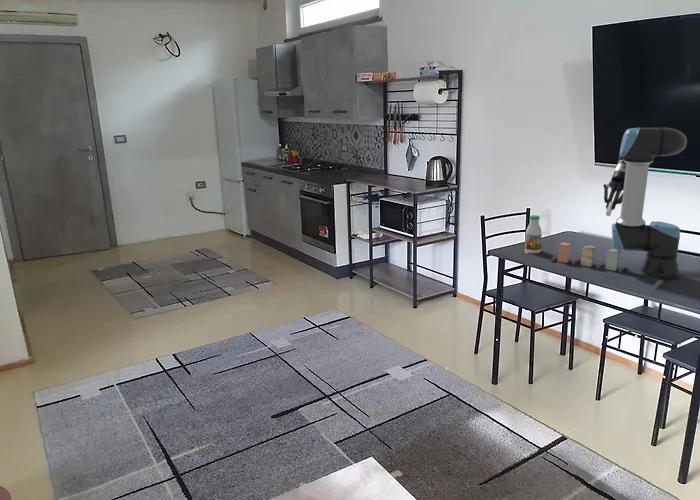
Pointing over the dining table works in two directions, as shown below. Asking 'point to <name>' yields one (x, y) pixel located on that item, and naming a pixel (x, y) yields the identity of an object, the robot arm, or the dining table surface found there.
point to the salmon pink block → (564, 252)
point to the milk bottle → (533, 236)
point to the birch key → (588, 256)
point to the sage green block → (613, 259)
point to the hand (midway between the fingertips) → (607, 214)
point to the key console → (596, 265)
